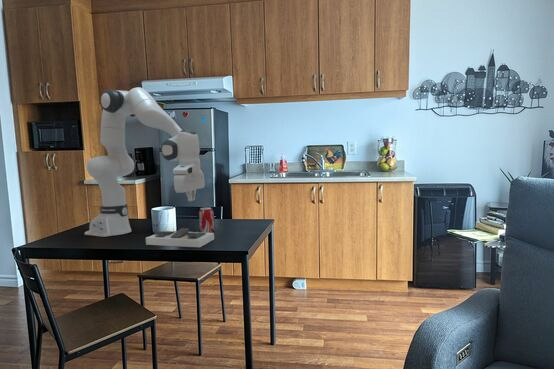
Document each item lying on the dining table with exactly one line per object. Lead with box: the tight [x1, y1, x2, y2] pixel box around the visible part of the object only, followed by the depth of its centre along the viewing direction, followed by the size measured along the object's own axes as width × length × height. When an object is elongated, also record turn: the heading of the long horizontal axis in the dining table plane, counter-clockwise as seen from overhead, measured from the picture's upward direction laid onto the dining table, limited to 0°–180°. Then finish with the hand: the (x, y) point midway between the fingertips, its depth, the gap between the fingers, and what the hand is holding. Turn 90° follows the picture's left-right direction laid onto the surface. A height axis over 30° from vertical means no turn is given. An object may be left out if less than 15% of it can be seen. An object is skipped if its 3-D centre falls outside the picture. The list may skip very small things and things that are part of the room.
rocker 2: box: [187, 233, 206, 237], centre depth 166 cm, size 4×9×2 cm, turn 164°
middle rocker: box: [171, 227, 190, 238], centre depth 168 cm, size 4×9×2 cm, turn 164°
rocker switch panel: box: [145, 230, 215, 248], centre depth 168 cm, size 26×14×3 cm, turn 74°
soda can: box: [198, 206, 215, 233], centre depth 186 cm, size 7×7×12 cm
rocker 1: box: [154, 230, 174, 235], centre depth 170 cm, size 4×9×2 cm, turn 164°
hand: (191, 200), depth 161 cm, fingers closed
